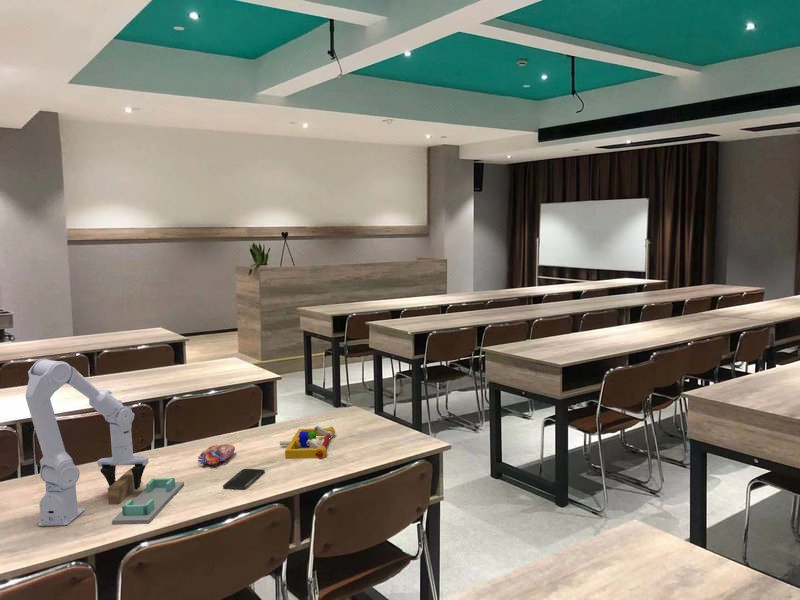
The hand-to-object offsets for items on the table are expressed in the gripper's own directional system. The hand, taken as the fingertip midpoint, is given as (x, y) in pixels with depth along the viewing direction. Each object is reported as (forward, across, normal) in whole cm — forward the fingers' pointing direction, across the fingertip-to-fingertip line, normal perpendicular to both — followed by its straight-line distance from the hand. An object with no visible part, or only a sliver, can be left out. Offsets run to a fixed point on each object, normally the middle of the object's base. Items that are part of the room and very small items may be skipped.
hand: (125, 488), depth 188 cm
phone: (+2, -34, -8) cm, 35 cm away
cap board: (+1, -11, +8) cm, 14 cm away
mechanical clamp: (+2, -48, -40) cm, 63 cm away
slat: (+2, 0, 0) cm, 2 cm away
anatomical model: (+2, -19, -26) cm, 32 cm away
